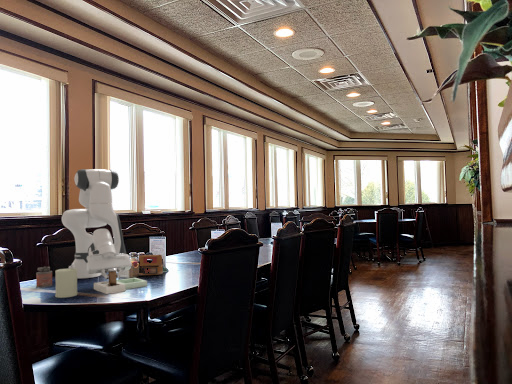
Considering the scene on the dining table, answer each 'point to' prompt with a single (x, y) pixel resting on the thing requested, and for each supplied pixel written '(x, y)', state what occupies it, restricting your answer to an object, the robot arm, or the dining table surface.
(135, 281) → the parts tray
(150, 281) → the dining table surface
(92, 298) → the dining table surface
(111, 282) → the fuse
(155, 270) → the condiment caddy
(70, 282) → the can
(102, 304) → the dining table surface
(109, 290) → the white shallow tray
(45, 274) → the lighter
